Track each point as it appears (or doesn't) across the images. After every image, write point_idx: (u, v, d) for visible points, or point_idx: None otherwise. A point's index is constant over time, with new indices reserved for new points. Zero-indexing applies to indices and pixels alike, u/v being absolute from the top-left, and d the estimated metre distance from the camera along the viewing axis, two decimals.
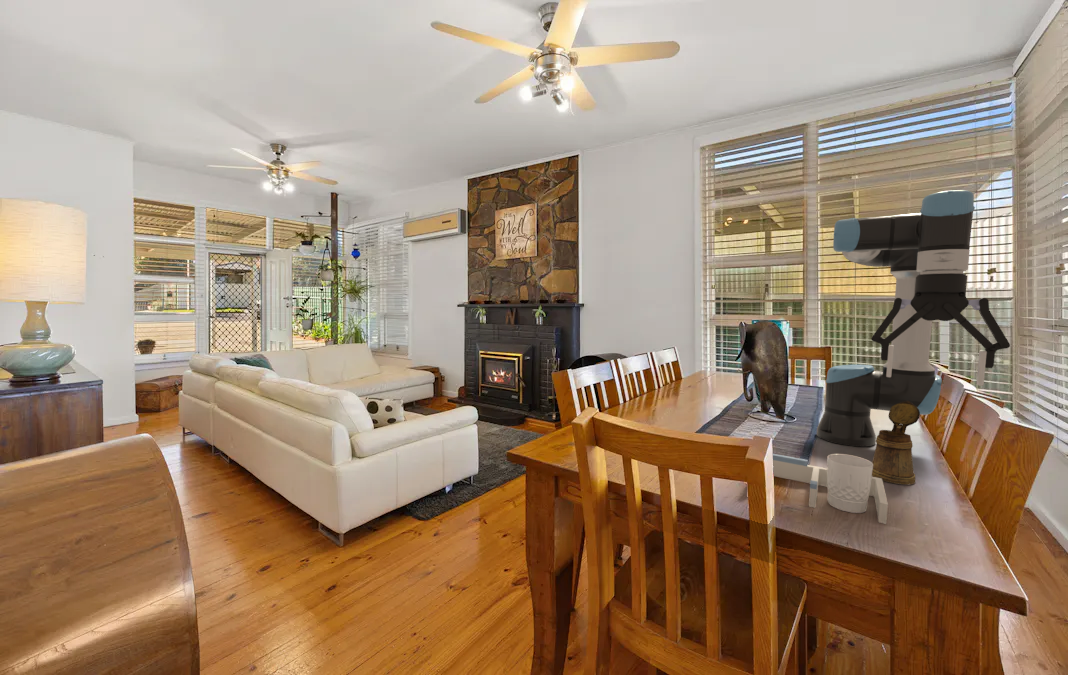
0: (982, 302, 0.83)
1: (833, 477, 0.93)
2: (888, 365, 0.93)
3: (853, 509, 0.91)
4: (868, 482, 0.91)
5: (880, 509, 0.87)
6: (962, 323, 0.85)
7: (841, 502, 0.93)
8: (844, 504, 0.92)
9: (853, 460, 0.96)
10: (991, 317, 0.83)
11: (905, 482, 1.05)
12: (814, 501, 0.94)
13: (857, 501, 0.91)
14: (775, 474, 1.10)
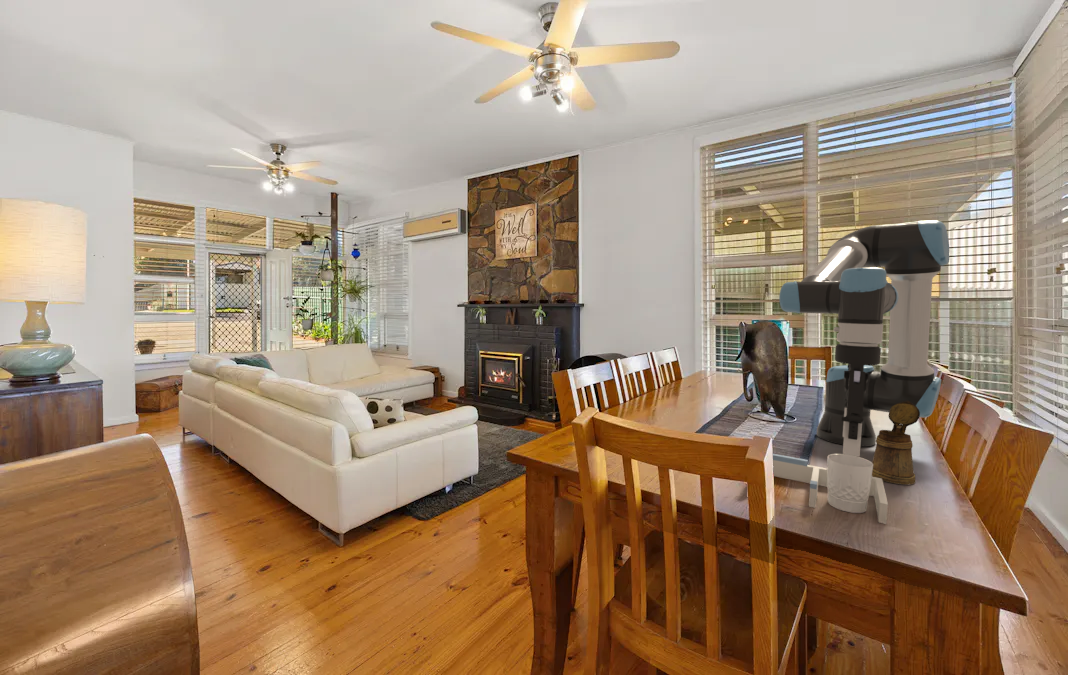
0: None
1: (833, 477, 0.93)
2: (843, 425, 1.00)
3: (853, 509, 0.91)
4: (868, 482, 0.91)
5: (880, 509, 0.87)
6: (847, 392, 0.90)
7: (841, 502, 0.93)
8: (844, 504, 0.92)
9: (853, 460, 0.96)
10: (848, 389, 0.87)
11: (905, 482, 1.05)
12: (814, 501, 0.94)
13: (857, 501, 0.91)
14: (775, 474, 1.10)
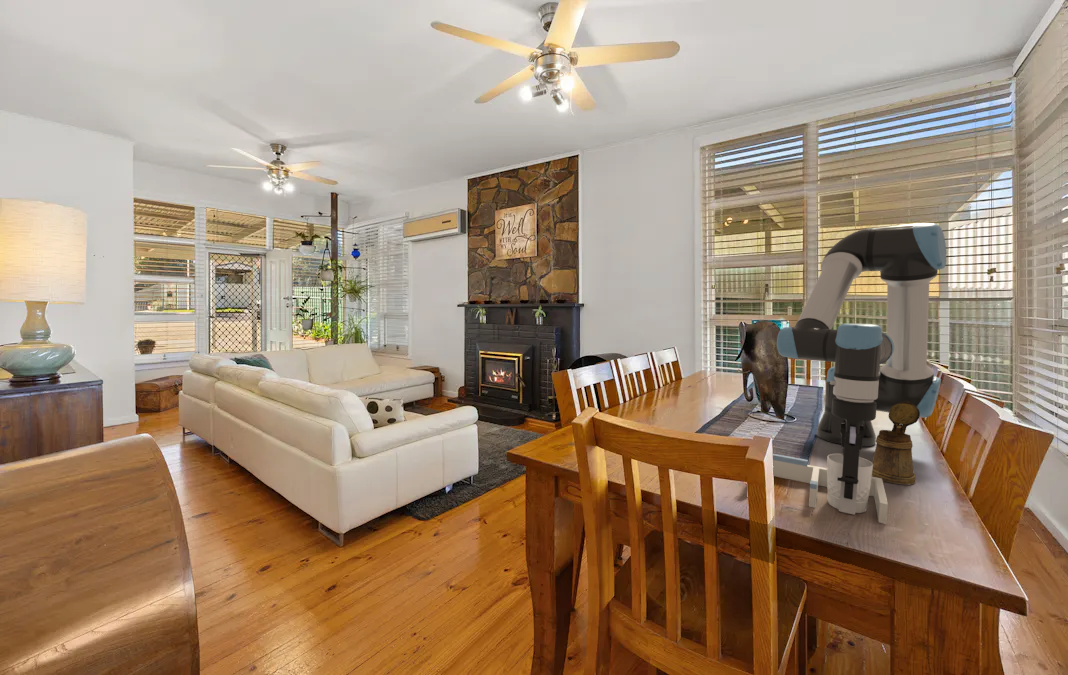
0: None
1: (833, 477, 0.93)
2: None
3: None
4: (868, 482, 0.91)
5: (880, 509, 0.87)
6: (843, 448, 0.92)
7: None
8: None
9: None
10: (844, 450, 0.89)
11: (905, 482, 1.05)
12: (814, 501, 0.94)
13: (857, 501, 0.91)
14: (775, 474, 1.10)
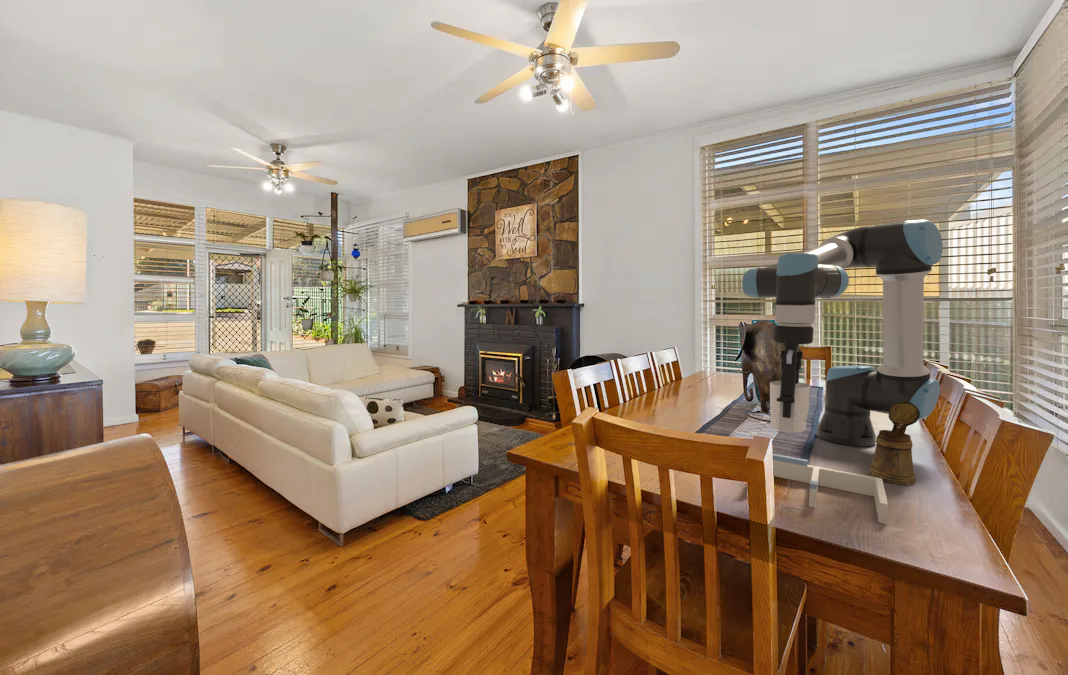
0: None
1: (774, 400, 0.98)
2: None
3: None
4: (806, 402, 0.96)
5: (880, 509, 0.87)
6: None
7: None
8: None
9: (795, 386, 1.02)
10: (782, 371, 0.94)
11: (905, 482, 1.05)
12: (814, 501, 0.94)
13: (796, 421, 0.96)
14: (775, 474, 1.10)
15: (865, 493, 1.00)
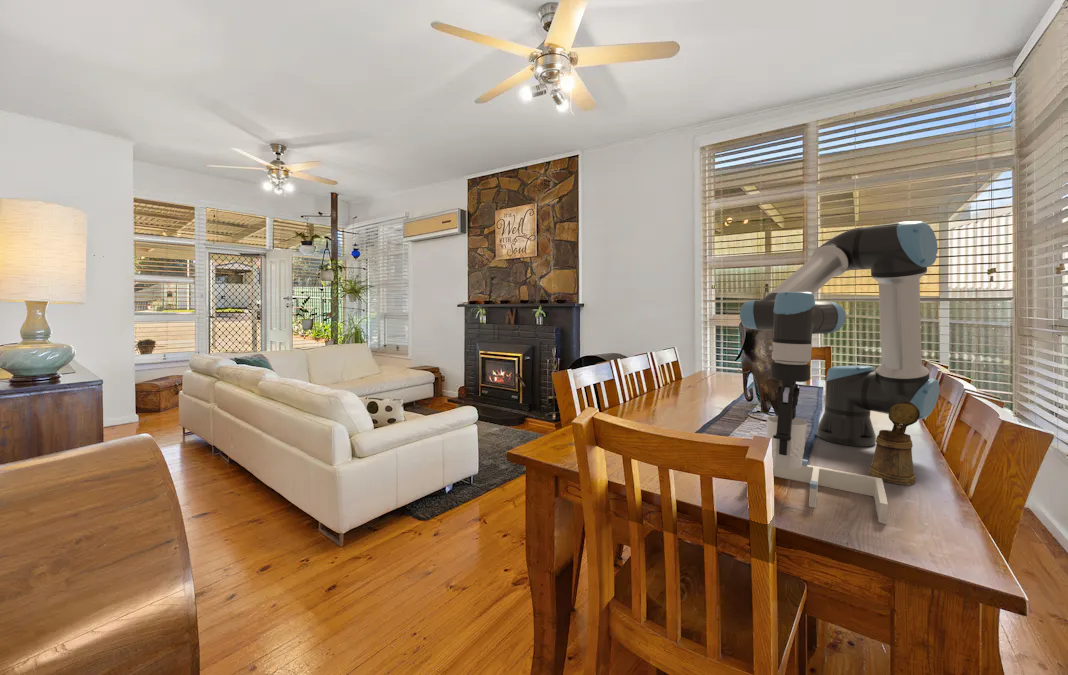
0: None
1: (771, 436, 0.99)
2: None
3: None
4: (802, 440, 0.97)
5: (880, 509, 0.87)
6: None
7: None
8: None
9: None
10: None
11: (905, 482, 1.05)
12: (814, 501, 0.94)
13: (792, 458, 0.97)
14: (775, 474, 1.10)
15: (865, 493, 1.00)
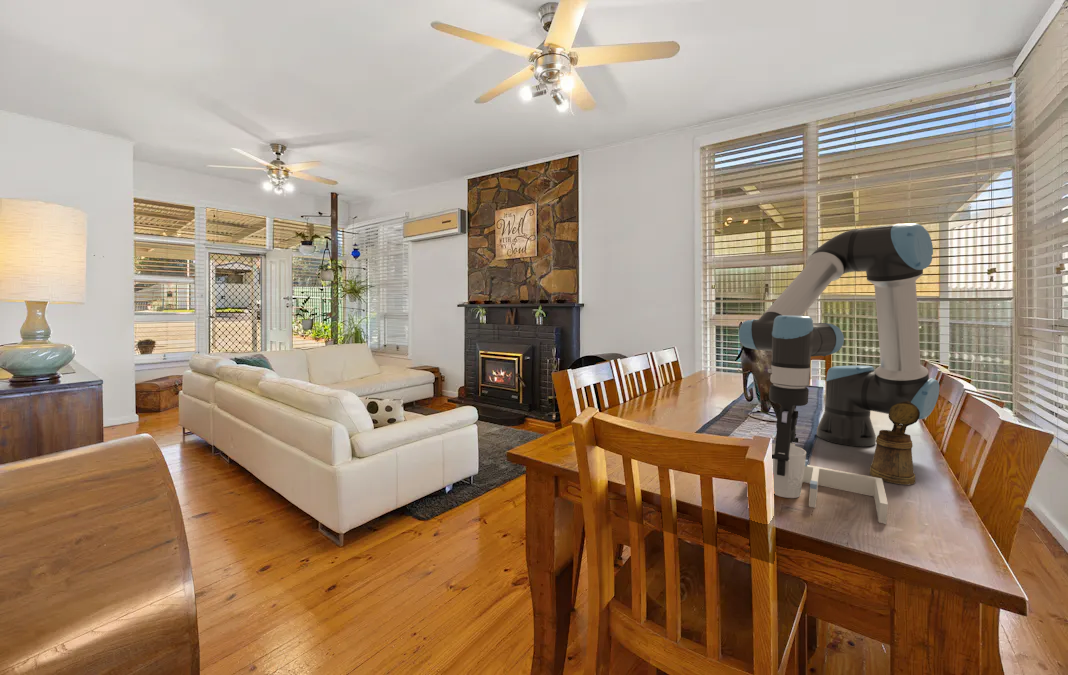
0: None
1: None
2: None
3: (787, 494, 0.98)
4: (801, 469, 0.97)
5: (880, 509, 0.87)
6: None
7: (776, 488, 0.99)
8: (779, 490, 0.99)
9: (790, 449, 1.03)
10: (777, 429, 0.95)
11: (905, 482, 1.05)
12: (814, 501, 0.94)
13: (791, 487, 0.98)
14: None
15: (865, 493, 1.00)
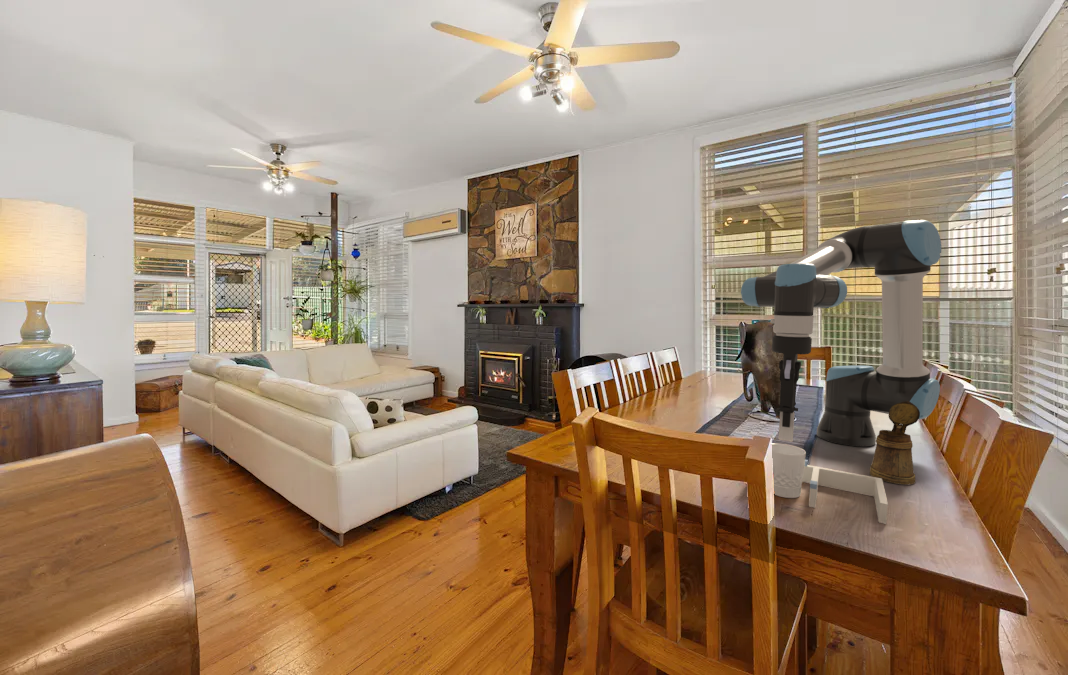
0: None
1: None
2: None
3: (787, 494, 0.98)
4: (800, 469, 0.97)
5: (880, 509, 0.87)
6: None
7: (776, 488, 0.99)
8: (779, 490, 0.99)
9: (790, 449, 1.03)
10: (780, 385, 0.96)
11: (905, 482, 1.05)
12: (814, 501, 0.94)
13: (791, 487, 0.98)
14: None
15: (865, 493, 1.00)
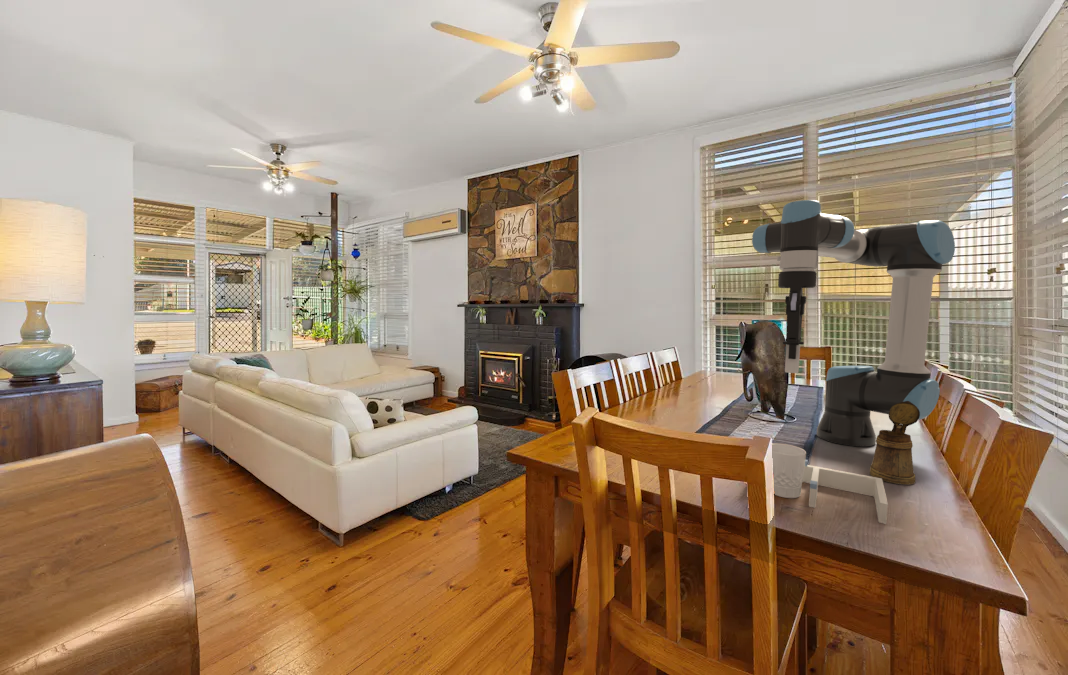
0: None
1: None
2: None
3: (787, 494, 0.98)
4: (801, 469, 0.97)
5: (880, 509, 0.87)
6: None
7: (776, 488, 0.99)
8: (779, 490, 0.99)
9: (790, 449, 1.03)
10: (787, 317, 1.01)
11: (905, 482, 1.05)
12: (814, 501, 0.94)
13: (791, 487, 0.98)
14: None
15: (865, 493, 1.00)
